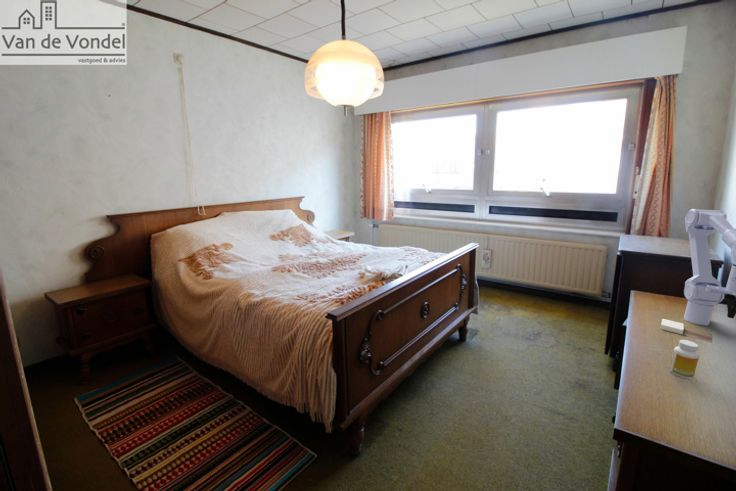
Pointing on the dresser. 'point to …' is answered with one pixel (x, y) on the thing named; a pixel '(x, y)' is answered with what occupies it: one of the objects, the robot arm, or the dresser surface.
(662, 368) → the dresser surface
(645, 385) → the dresser surface
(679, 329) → the cream tile
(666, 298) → the dresser surface
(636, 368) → the dresser surface
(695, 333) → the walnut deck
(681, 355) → the supplement bottle
